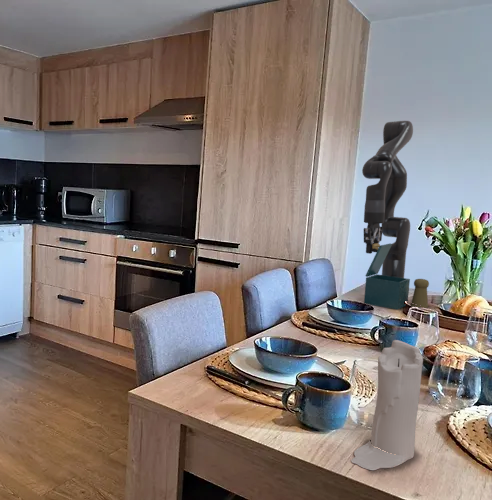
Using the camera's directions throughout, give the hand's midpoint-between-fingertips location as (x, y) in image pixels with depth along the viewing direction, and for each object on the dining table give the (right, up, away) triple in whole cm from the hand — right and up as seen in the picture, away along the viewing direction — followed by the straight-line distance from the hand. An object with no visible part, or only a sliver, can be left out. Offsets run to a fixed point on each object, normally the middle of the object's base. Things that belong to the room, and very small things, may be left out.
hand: (371, 252), depth 205 cm
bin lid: (+2, -3, -2) cm, 4 cm away
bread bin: (+5, -21, -2) cm, 21 cm away
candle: (-51, -36, -115) cm, 130 cm away
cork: (+17, -22, -5) cm, 28 cm away
